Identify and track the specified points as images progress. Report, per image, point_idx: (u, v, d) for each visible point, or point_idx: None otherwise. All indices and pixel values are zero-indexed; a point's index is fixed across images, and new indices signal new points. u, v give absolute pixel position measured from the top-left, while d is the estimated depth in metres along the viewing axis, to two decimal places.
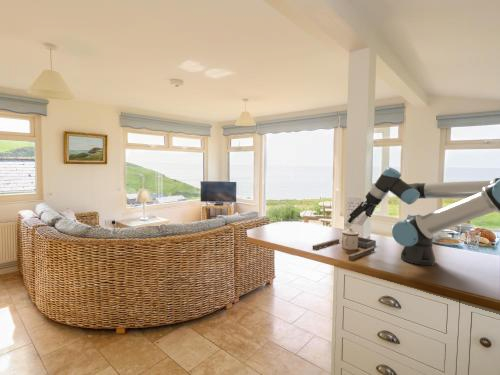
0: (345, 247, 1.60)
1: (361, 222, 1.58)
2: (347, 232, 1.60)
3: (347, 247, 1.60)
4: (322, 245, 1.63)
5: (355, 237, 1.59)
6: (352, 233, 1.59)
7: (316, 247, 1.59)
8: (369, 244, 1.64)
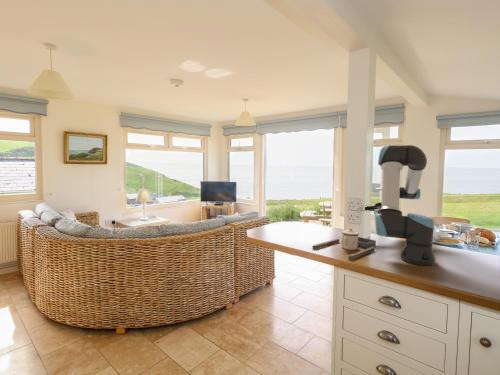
0: (345, 247, 1.60)
1: None
2: (347, 232, 1.60)
3: (347, 247, 1.60)
4: (322, 245, 1.63)
5: (355, 237, 1.59)
6: (352, 233, 1.59)
7: (316, 247, 1.59)
8: (369, 244, 1.64)
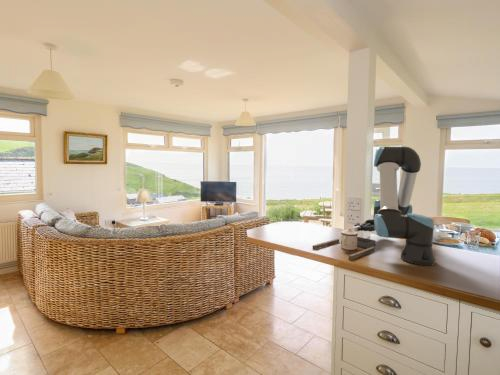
0: (344, 247, 1.60)
1: None
2: (346, 232, 1.60)
3: (346, 248, 1.59)
4: (322, 245, 1.63)
5: (354, 237, 1.58)
6: (351, 233, 1.58)
7: (316, 247, 1.59)
8: (369, 244, 1.64)
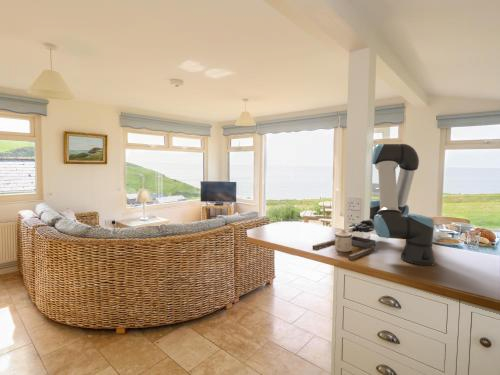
0: (338, 249, 1.57)
1: None
2: (339, 234, 1.56)
3: (339, 249, 1.56)
4: (322, 245, 1.63)
5: (347, 239, 1.54)
6: (344, 235, 1.54)
7: (316, 247, 1.59)
8: (369, 244, 1.64)
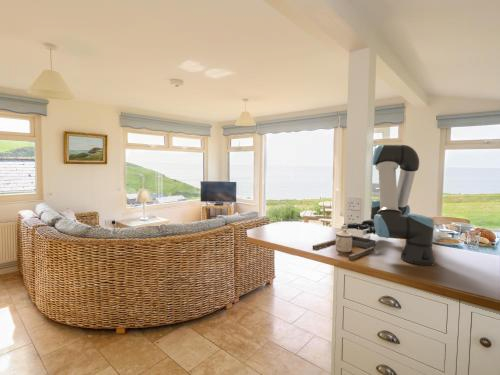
0: (338, 249, 1.57)
1: None
2: (340, 233, 1.56)
3: (340, 249, 1.56)
4: (322, 245, 1.63)
5: (348, 239, 1.54)
6: (345, 235, 1.55)
7: (316, 247, 1.59)
8: (369, 244, 1.64)
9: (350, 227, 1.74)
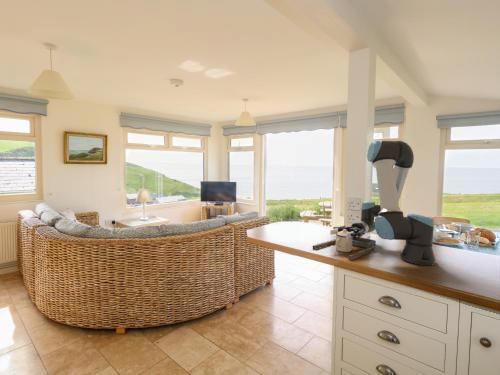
0: (338, 249, 1.57)
1: None
2: (340, 233, 1.56)
3: (340, 249, 1.56)
4: (322, 245, 1.63)
5: (348, 239, 1.54)
6: (345, 235, 1.55)
7: (316, 247, 1.59)
8: (369, 244, 1.64)
9: None
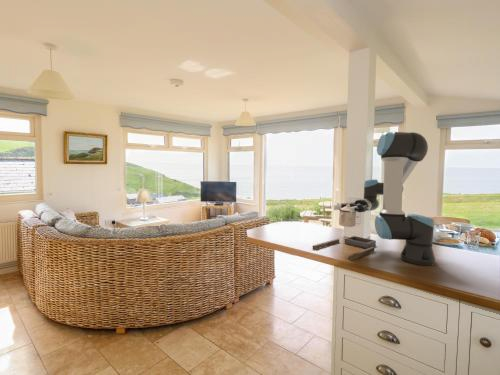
0: (342, 224, 1.57)
1: None
2: (344, 209, 1.56)
3: (343, 224, 1.56)
4: (322, 245, 1.63)
5: (352, 214, 1.54)
6: (349, 209, 1.55)
7: (316, 247, 1.59)
8: (369, 244, 1.64)
9: None
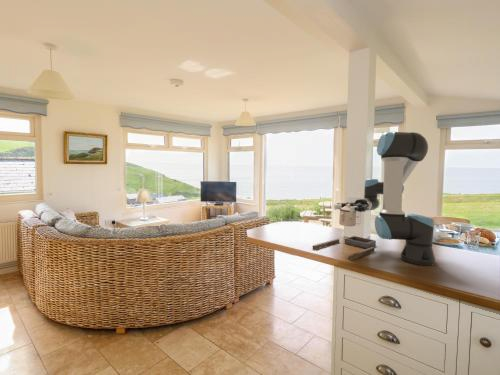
0: (342, 224, 1.57)
1: None
2: (344, 208, 1.57)
3: (343, 224, 1.56)
4: (322, 245, 1.63)
5: (352, 213, 1.55)
6: (349, 209, 1.55)
7: (316, 247, 1.59)
8: (369, 244, 1.64)
9: None
